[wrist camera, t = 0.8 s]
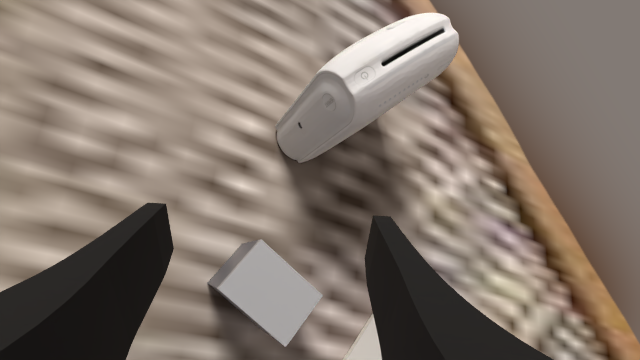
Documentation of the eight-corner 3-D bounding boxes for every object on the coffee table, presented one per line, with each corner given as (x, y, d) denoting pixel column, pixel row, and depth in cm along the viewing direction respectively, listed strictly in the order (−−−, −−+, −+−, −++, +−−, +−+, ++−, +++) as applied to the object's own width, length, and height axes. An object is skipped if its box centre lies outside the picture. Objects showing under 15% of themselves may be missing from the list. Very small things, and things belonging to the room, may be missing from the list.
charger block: (260, 329, 26) (285, 347, 20) (207, 282, 25) (218, 289, 20) (291, 288, 27) (323, 295, 22) (242, 243, 26) (261, 239, 21)
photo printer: (294, 173, 29) (373, 118, 18) (264, 128, 29) (325, 44, 18) (381, 116, 33) (489, 43, 22) (355, 76, 33) (451, -17, 22)
